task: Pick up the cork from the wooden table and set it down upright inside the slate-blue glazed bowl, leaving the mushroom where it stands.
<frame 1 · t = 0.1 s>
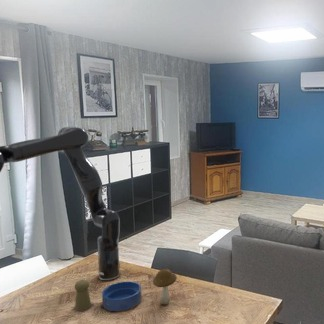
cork: (83, 307, 138), on the table
mushroom: (165, 303, 142), on the table
bowl: (122, 302, 142), on the table
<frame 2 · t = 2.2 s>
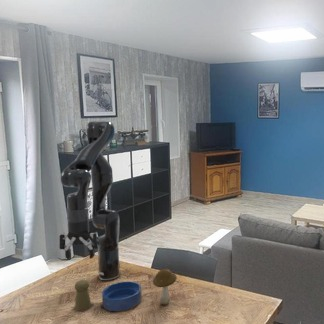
hand: (80, 258, 135), 21 cm above the table, tool pointing down, fingers open, 8 cm apart
nothing on the table moved.
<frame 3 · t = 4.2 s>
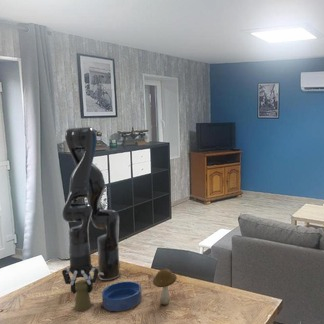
hand: (82, 292, 137), 6 cm above the table, tool pointing down, fingers closed on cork, 5 cm apart
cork: (83, 307, 138), on the table, touching gripper
everything else where it was.
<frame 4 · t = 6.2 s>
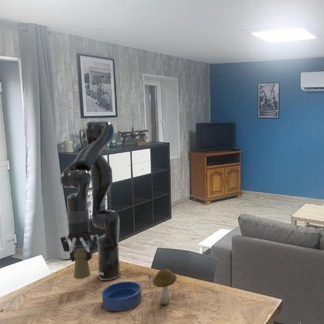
hand: (81, 260, 136), 20 cm above the table, tool pointing down, fingers closed on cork, 5 cm apart
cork: (82, 275, 137), point 13 cm above the table, touching gripper
everything else where it was.
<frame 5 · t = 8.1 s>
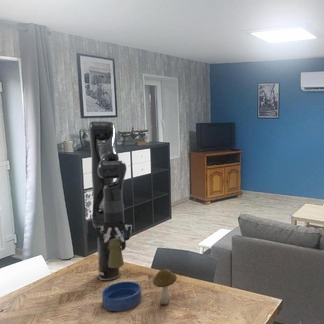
hand: (115, 249, 139), 23 cm above the table, tool pointing down, fingers closed on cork, 5 cm apart
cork: (116, 265, 139), point 16 cm above the table, touching gripper
everything else where it was.
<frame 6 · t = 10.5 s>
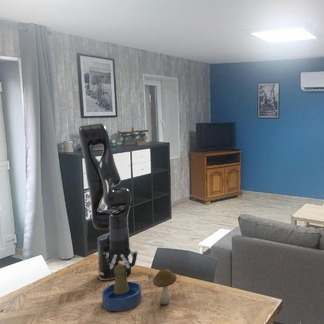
hand: (120, 276, 140), 12 cm above the table, tool pointing down, fingers closed on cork, 5 cm apart
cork: (121, 291, 141), point 5 cm above the table, touching gripper
everything else where it was.
when the fingers open (7 cm above the table, at t = 12.2 s): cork stays where it is, resting on bowl.
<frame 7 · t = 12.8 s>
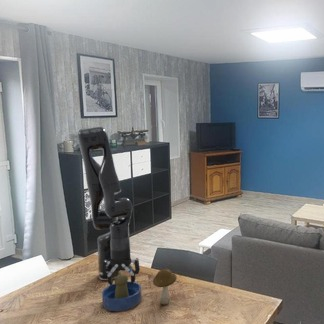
hand: (121, 283, 141), 8 cm above the table, tool pointing down, fingers open, 8 cm apart
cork: (121, 301, 142), resting on bowl
everything else where it was.
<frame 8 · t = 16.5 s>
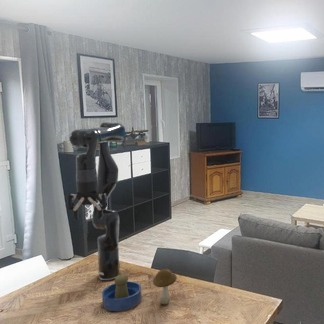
hand: (88, 219, 137), 36 cm above the table, tool pointing down, fingers open, 8 cm apart
nothing on the table moved.
at the end: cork inside the target area in the bowl (0.2 cm from its centre), point 0.4 cm above the bowl's base; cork tilted 0°; the gripper is holding nothing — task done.
